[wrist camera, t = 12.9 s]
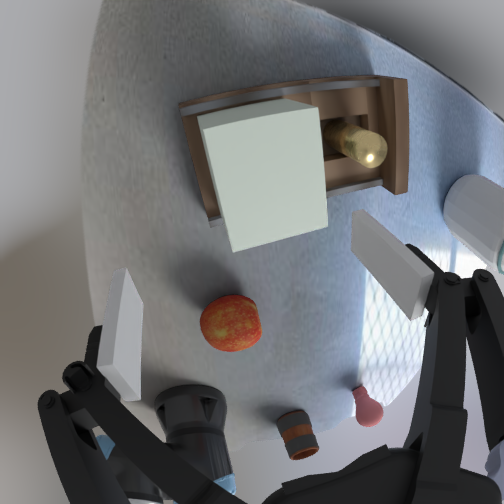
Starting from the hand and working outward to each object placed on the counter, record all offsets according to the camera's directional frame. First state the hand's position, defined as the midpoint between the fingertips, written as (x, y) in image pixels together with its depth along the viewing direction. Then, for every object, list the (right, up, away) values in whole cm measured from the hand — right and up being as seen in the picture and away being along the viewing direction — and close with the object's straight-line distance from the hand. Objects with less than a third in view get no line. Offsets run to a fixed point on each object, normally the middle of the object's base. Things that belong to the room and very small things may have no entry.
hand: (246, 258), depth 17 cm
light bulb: (+28, -36, +55) cm, 71 cm away
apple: (-4, -7, +29) cm, 30 cm away
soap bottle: (+38, +10, +29) cm, 48 cm away
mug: (+10, -45, +57) cm, 73 cm away
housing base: (+5, +14, +17) cm, 23 cm away
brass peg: (+10, +14, +17) cm, 25 cm away
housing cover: (0, +10, +14) cm, 18 cm away
